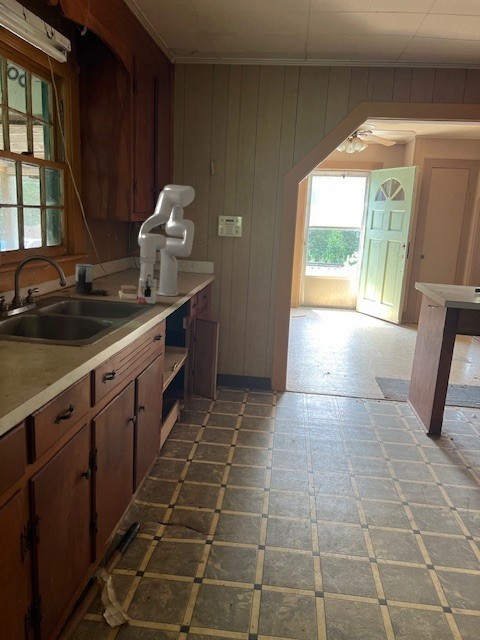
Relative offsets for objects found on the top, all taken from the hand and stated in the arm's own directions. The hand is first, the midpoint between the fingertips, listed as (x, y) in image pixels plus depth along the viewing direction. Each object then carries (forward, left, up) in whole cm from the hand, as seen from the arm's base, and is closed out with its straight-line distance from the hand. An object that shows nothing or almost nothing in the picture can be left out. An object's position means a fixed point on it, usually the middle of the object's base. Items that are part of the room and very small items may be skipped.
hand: (146, 295), depth 243 cm
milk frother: (-22, -25, -4) cm, 33 cm away
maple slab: (-13, -7, -4) cm, 15 cm away
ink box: (0, 0, -4) cm, 4 cm away
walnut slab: (-13, -7, -1) cm, 14 cm away
